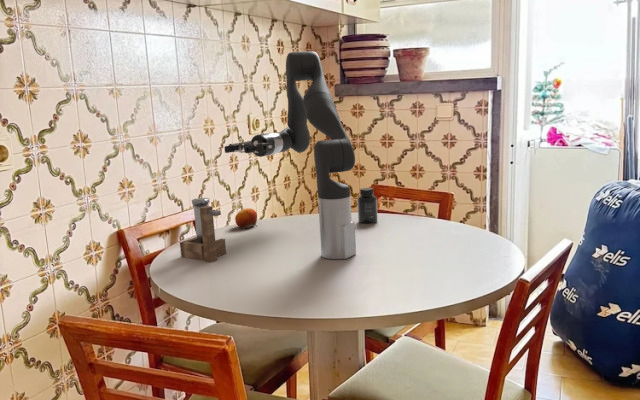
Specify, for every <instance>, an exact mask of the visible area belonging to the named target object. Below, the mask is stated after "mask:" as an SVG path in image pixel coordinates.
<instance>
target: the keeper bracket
mask: <svg viewBox="0 0 640 400" xmlns="http://www.w3.org/2000/svg"><path fill="white" fill-rule="evenodd" d="M221 215H222V213H221V210H218V209H217V210H216V209H213V206H204V207H200V216H201V226H202V236H203V244H200V243H197V236H195V237H192V238H190V239H187V240H184V241H179V248H180V257H181V258H185V259H186V258H187V259H192V260H199V261H204V262H206V261H207V262H208V263H213V262H216V261H218V257H220V256H222V255H226V254H227V248H226V238H219V239H216V232H215V223H214V222H215V221H214V217H218V216H221Z"/></svg>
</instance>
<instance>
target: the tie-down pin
mask: <svg viewBox="0 0 640 400" xmlns="http://www.w3.org/2000/svg"><path fill="white" fill-rule="evenodd" d="M210 202H211V201H210V198H209V197H199V198H194V199H191V204H192V205H193V214H194V223H195V224H194V225H195V234H196V237H197V243H200V244H203V236H202V226H201V216H200V207H204V206H209V203H210Z"/></svg>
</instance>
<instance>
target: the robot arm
mask: <svg viewBox="0 0 640 400" xmlns="http://www.w3.org/2000/svg"><path fill="white" fill-rule="evenodd" d="M285 78H286V79H285V81H286V92H287V93H286V96H287V119H286V120H287V121H286V124H287V127H286V128H284V129H283V130H281V131H279V132H267V133H261V134H255V135H254V136H253V137H252V138H251V140H247V141H242V142H241V141H239V142H237V143H229V144H228V145H226V146H224V153H225V154H229V153H236V152H238V153H240V154H243V153H245V154H252V153H253V154H254V155H255V156H256V157H259V158H262V157H266V156H272V155H275V154H279V153H285V152H287V151H288V150H290V149H292V150H293V151H294V152H297V153H298V154H299V153H300V154H301V153H304V152H305V151H306V150H307V149H308V148H309V146H310V142H311V138H310V137H311V136H310V132H309V127H308V126H309V125H308V122H309V123H310V124H311V126H313V127H314V128H315V129H316V130H317V131H319V132H321V133H322V134H323V135H325V136H326V137H328V138H329V139H326V140H325V139H323V140H318V141H317V142H316V143H315V144H314V148H313V158H314V159H313V160H314V166H315V177H316V189H317V200H318V201H317V202H318V217H319V218H318V220H319V221H318V222H319V237H320V252H321V257H322V258H324V259H328V260H347V259H349V258H350V257H352V256H354V255H356V254H357V247H356V246H357V245H356V240H357V239H356V223H355V221H352V220H353V219H352V201H351V199H352V198H351V188H350V186H349V185H347V184H345V183H341V182H338V181H335V180H333V179H332V178H331V177H330V174H336V173H344V172H349V171H351V170H353V168H354V167H355V164H356V155H355V150H354V147H353V145H352V141H351V140H350V138H349V136H348V134H347V132H346V130H345V128H344V126H343V123H342V121H341V119H340V116H339V113H338V110H337V107H336V104H335V102H334V99H333V96H332V94H331V92H330V89H329V87H328V84H327V82H326V78H325V74H324V69H323V66H322V62H321V59H320V56H319V55H318V53H317V52H315V51H311V50H309V51H308V50H306V51H305V50H304V51H291V52H289V53H288V54H287V56H286V58H285ZM298 81H300V82H301V81H312V82H311V84H310V86H309V87H308V89H307V90H306V92H305V94H304V97H303V96H302V94H301V93H300V91H299V89H298V87H297V82H298Z"/></svg>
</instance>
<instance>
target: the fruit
mask: <svg viewBox="0 0 640 400" xmlns="http://www.w3.org/2000/svg"><path fill="white" fill-rule="evenodd" d="M234 219H235V221H234V222H235V224H236V225H237V226H238V228H240V229H245V228H246V229H249V228H250V227H258V225H257V221H258V213H257V211H256V210H255V209H253V208H249V207H247V208H243V209H240V210H238V212H237V213H236V214H235V218H234Z"/></svg>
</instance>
